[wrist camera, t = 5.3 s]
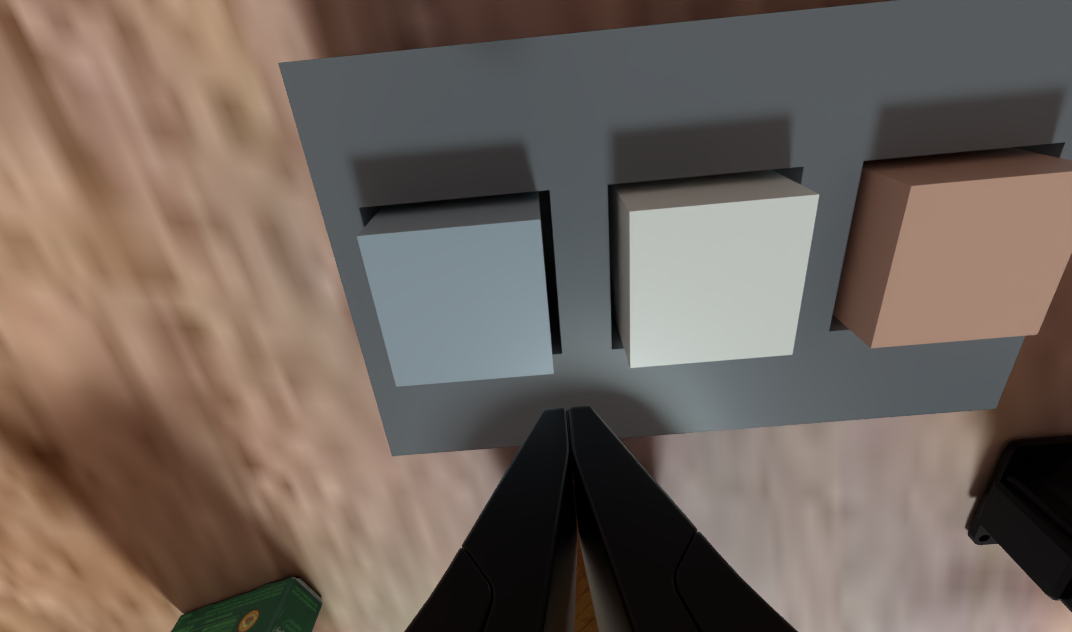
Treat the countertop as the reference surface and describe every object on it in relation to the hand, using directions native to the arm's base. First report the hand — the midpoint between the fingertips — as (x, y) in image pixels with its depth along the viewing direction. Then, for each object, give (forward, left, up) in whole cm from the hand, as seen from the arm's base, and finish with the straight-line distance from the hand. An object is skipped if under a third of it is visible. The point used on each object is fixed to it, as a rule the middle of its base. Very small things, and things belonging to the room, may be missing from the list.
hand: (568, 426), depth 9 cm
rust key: (-11, 0, -9) cm, 14 cm away
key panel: (-4, 0, -11) cm, 11 cm away
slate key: (+2, 0, -9) cm, 9 cm away
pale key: (-4, 0, -9) cm, 10 cm away
